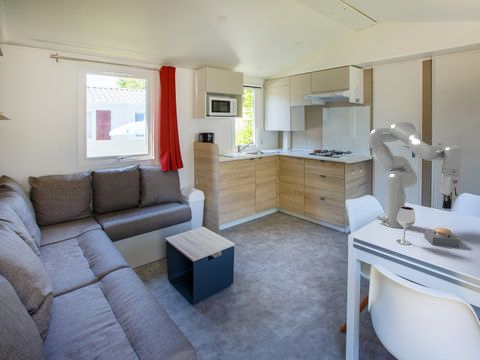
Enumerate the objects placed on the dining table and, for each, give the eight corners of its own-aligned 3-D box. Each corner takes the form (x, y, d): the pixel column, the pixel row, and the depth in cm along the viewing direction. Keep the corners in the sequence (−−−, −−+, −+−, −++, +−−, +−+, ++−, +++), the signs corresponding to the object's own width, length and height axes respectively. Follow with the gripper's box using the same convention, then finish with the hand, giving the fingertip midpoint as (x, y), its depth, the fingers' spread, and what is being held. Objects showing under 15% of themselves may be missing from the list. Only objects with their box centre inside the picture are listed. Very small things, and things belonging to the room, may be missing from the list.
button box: (432, 244, 147) (433, 237, 146) (424, 237, 157) (425, 230, 156) (459, 247, 145) (460, 239, 144) (449, 239, 154) (450, 232, 153)
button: (436, 241, 148) (438, 231, 147) (431, 236, 154) (432, 227, 153) (452, 242, 146) (453, 232, 145) (445, 237, 153) (447, 228, 152)
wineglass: (390, 239, 154) (394, 206, 150) (405, 239, 154) (409, 205, 151) (400, 245, 146) (404, 210, 142) (416, 245, 146) (420, 210, 143)
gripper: (468, 174, 136) (463, 212, 140) (451, 170, 151) (447, 204, 154) (449, 174, 138) (445, 212, 141) (435, 169, 152) (431, 204, 155)
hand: (446, 208), depth 148 cm, fingers closed
